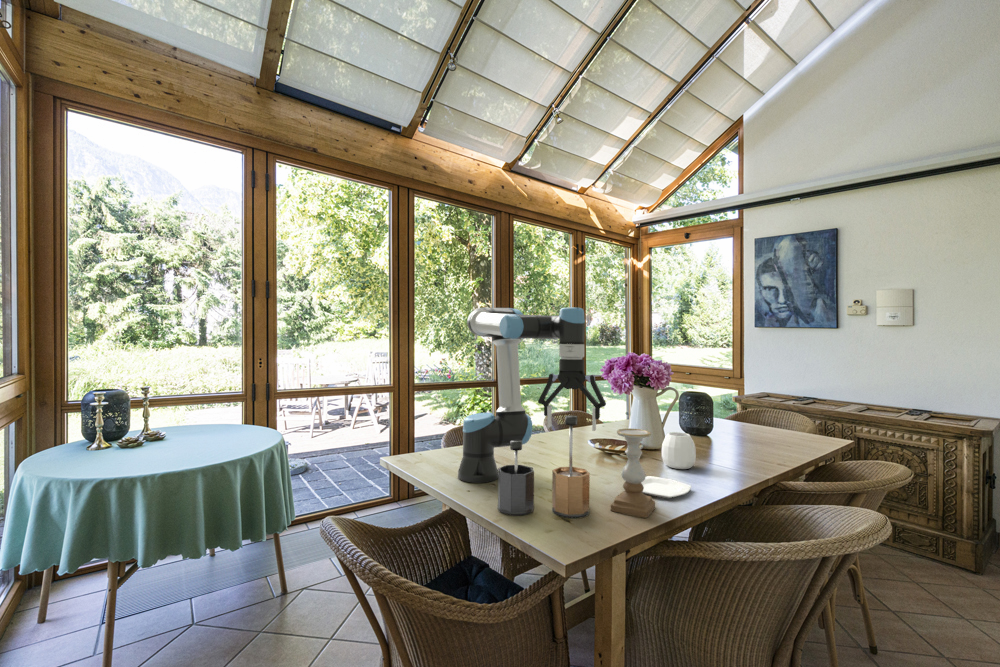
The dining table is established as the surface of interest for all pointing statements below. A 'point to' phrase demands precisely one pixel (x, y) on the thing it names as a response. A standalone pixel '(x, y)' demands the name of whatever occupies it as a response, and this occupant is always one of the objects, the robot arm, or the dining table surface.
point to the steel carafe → (515, 490)
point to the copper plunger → (570, 421)
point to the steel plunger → (516, 451)
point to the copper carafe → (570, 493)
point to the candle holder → (633, 478)
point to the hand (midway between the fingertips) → (571, 428)
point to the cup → (678, 450)
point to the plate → (664, 487)
